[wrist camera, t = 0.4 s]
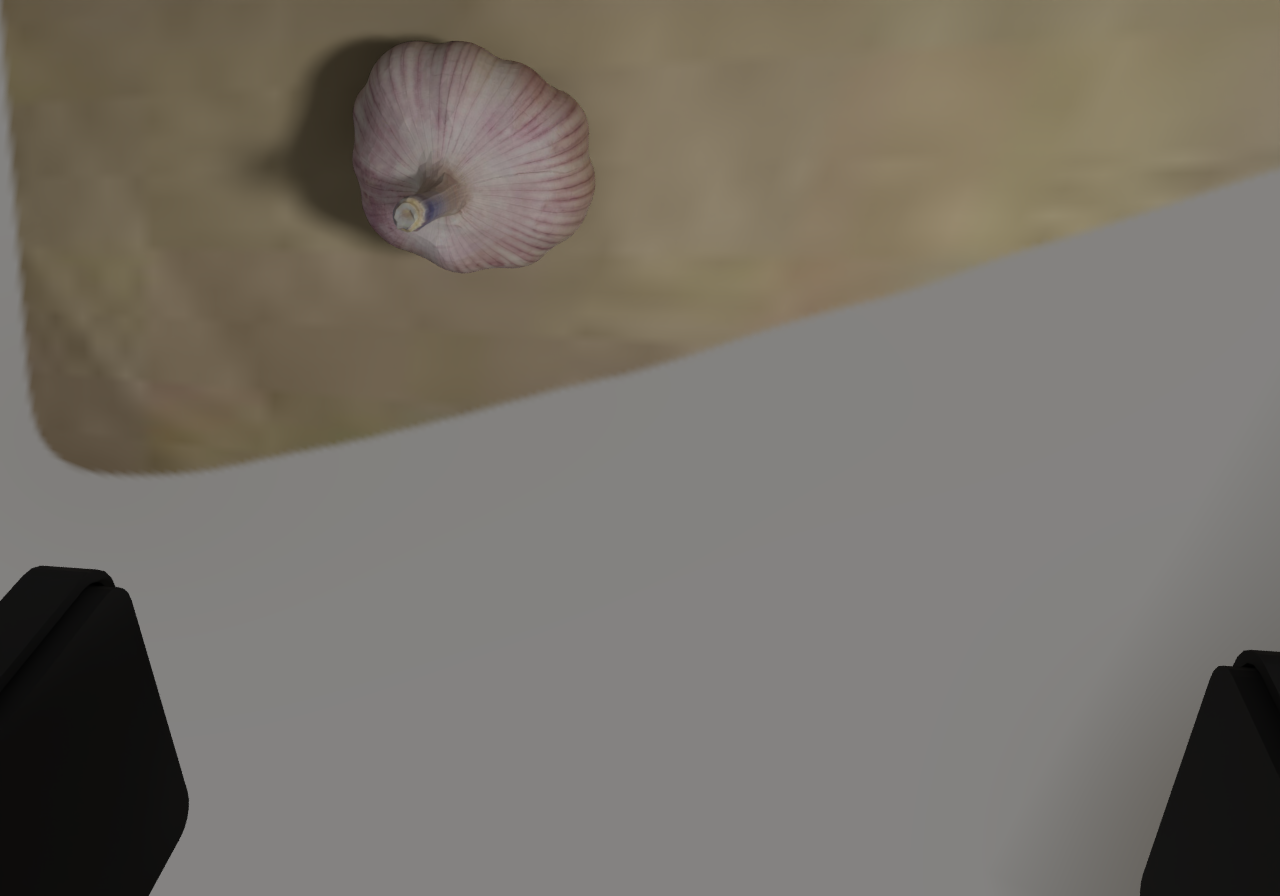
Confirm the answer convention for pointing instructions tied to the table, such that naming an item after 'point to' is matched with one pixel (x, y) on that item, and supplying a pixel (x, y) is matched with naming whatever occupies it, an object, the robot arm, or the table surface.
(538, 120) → the garlic bulb
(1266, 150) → the table surface
